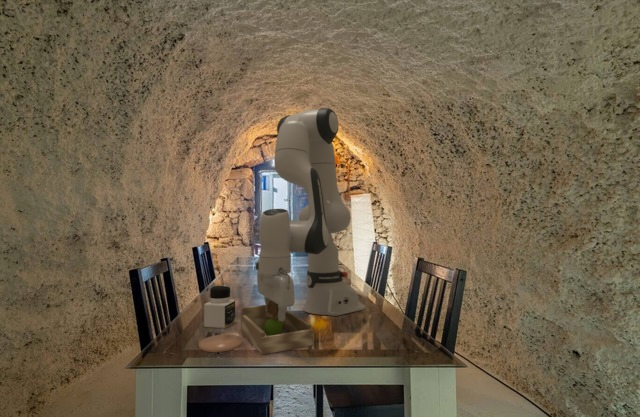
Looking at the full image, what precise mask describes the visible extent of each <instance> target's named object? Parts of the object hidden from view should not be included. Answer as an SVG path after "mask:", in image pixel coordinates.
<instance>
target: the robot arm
mask: <svg viewBox="0 0 640 417" xmlns="http://www.w3.org/2000/svg"><path fill="white" fill-rule="evenodd" d="M338 131H339V119H338V116H337V114H336V113H335V111H334V110H333V109H332V108H328V107H320V108H314V109H307V110H303V111H301V112H297V113H293V114H290V115H286V116H283V117H282V118H280V119H279V121H278V123H277V126H276V132H277V136H276V142H275V148H274V170H275V171H276V174H277V175H278V176H279V177H280V178H282V179H283V180H284V181H286V182H288V183H290V184H293V185H295V186H298V187H301V188H303V189H304V190H305V192H306V196H307V203H308V205H306V206H304V207H303V208H301V210H300V211H299V214H298V220H291V219H290V214H289V211H288V210H287V209H286V208H273V209H272V208H270V209H267V210H264V211H262V213H261V216H260V221H259V222H260V223H259V234H258V236H259V237H258V238H259V239H258V240H259V245H260V251H259V256H258V260H257V262H255V270H256V280H257V292H258V293H259V294H260V295H262V296H263V299H264V300H263V301H264V305H266V311H267V303H268V302H269V301H273V302H274V303H276V304H278V308H279V311H278V313H277V319H278V320H279V321H284V320H285V313H286V310H288V307H293V306H294V305H295V303H296V302H295V299H296V298H295V286H294V285H295V284H294V279H293V277H292V276H290V273H291V272H292V264H291V263H292V254H291V253H302V254H303V253H306V254H307V257H308V258H307V259H308V260H307V262H308V263H307V264H308V265H307V266H308V267H307V268H308V269H307V271H306V284H307V285H306V286H307V292H306V300H305V303H304V307H303V311H304V312H306V313H308V314H312V315H322V316H324V315H325V316H331V317H332V316H333V317H338V316H341V315H345V314H346V315H347V314H350V313H354V312H359V311H364V310H365V309H366V307H365V305H364V304H363V303H362V302H360V301H359V300H360V299H359V295H358V293H357V291H356V290H355V289H354V288H353V287H352V286H350V284H348V283H347V282H345V281H344V279H343V278H345V279H346V278H348V276H349V273H348V272H347V271H341V270H339V267H340V266H339V248H338V247H337V245H336V244H335V241H334V238H333V234H337V233H340V232H342V231H345V230H346V229H347V228H348V227H349V225H350V222H351V219H352V218H351V212H350V210H349V208H348V207H347V206H346V205H345V203H344V202H343V200H342V197H341V195H340V192H339V186H338V182H337V166H336V165H337V164H336V155H335V148H334V144H333V141H334V139H335V137H336V136H337V134H338ZM267 312H268V311H267Z"/></svg>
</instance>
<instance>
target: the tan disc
mask: <svg viewBox="0 0 640 417" xmlns="http://www.w3.org/2000/svg"><path fill="white" fill-rule="evenodd" d="M242 344H243V339H242V337H240V336H239V335H236V334H216V335H215V334H214V335H212V336H211V335H210V336H208V337H205V338H202V339H201V340H200V341H199V342H198V348H199V349H200V350H201V351H203V352H207V353H222V352H228V351H233V350H235V349H238V348H239V347H240V346H242Z"/></svg>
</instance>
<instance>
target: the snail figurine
mask: <svg viewBox="0 0 640 417" xmlns="http://www.w3.org/2000/svg"><path fill="white" fill-rule="evenodd" d="M267 311H268V313H267V316H268V317H269V318H271V319H269V320H267V321H266V323H265V325H264V329H263V331H264V332H265V336H271V335H277V334H283V332H284V326H283V323H282V322H281V321H279V320H278V319H277V313H278V311H279V308H278V304H276V303H274V302H273V301H269V302H268V303H267Z"/></svg>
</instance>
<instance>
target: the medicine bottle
mask: <svg viewBox="0 0 640 417" xmlns="http://www.w3.org/2000/svg"><path fill="white" fill-rule="evenodd" d="M209 291H210V292H209V293H210V295H209V301H208V302H206V303H204V309H203V310H204V311H203V314H204V318H203V322H204V324H203V326H204V327H205V328H214V329H215V328H218V329H227V328H228V327H229V326H231V325H232V324H234V323H235V322H236V300H235V299H231V287H230V286H228V285H224V284H223V285H221V284H219V285H214V286H212V287H211V288H210V290H209Z"/></svg>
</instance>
